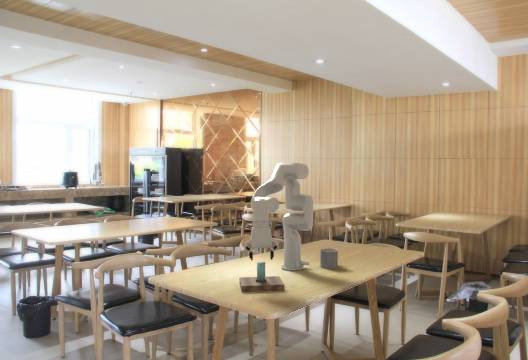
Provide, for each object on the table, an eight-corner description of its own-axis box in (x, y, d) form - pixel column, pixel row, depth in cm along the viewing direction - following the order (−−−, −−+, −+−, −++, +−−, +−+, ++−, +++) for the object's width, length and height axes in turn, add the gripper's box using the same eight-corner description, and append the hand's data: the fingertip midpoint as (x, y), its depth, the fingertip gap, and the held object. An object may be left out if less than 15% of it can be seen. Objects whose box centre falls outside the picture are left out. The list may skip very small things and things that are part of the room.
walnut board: (279, 282, 225) (279, 276, 225) (284, 290, 209) (284, 284, 209) (239, 283, 223) (239, 277, 223) (241, 292, 207) (241, 285, 207)
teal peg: (265, 285, 218) (264, 261, 218) (265, 288, 214) (265, 263, 214) (256, 286, 218) (256, 261, 218) (257, 288, 214) (257, 263, 213)
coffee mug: (330, 269, 252) (330, 252, 251) (316, 266, 259) (316, 249, 259) (344, 266, 261) (344, 249, 261) (331, 263, 268) (331, 246, 268)
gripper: (277, 222, 220) (278, 257, 221) (242, 223, 218) (243, 258, 219) (279, 225, 212) (280, 260, 213) (243, 226, 211) (244, 262, 212)
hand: (261, 259), depth 216 cm, fingers open, 9 cm apart
